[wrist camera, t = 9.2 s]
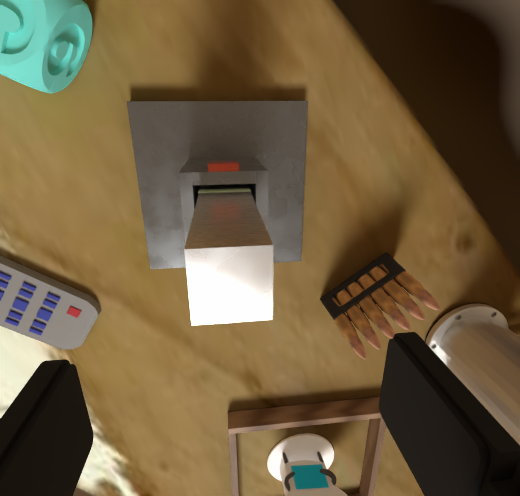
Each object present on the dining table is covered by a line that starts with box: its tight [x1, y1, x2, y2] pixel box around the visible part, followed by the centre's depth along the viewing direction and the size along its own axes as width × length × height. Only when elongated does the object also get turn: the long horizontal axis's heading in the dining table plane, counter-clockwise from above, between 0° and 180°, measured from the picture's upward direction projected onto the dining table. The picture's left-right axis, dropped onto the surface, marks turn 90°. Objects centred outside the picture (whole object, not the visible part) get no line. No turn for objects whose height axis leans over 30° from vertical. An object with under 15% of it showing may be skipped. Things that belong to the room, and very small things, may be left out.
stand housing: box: [127, 101, 308, 269], centre depth 33 cm, size 18×18×12 cm
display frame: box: [228, 397, 386, 496], centre depth 54 cm, size 24×24×3 cm
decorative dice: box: [0, 0, 92, 93], centre depth 27 cm, size 8×8×8 cm
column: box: [184, 184, 273, 326], centre depth 23 cm, size 4×4×16 cm
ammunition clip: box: [320, 253, 440, 359], centre depth 39 cm, size 11×2×12 cm, turn 127°
